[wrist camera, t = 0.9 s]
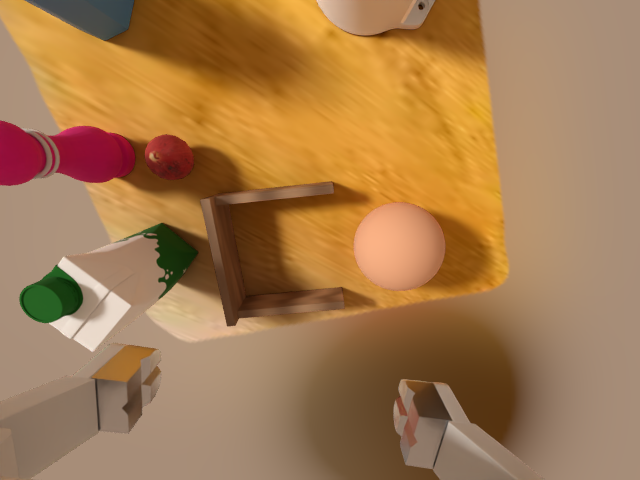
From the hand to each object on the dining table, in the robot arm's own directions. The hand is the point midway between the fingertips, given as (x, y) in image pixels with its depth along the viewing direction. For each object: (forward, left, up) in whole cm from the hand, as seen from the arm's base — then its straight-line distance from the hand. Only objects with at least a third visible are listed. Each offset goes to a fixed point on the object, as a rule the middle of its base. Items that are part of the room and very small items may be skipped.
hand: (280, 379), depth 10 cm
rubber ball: (-4, +12, -30) cm, 33 cm away
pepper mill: (+12, -28, -37) cm, 47 cm away
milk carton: (+20, -13, -37) cm, 44 cm away
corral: (+7, 0, -36) cm, 37 cm away
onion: (+6, -20, -37) cm, 42 cm away
